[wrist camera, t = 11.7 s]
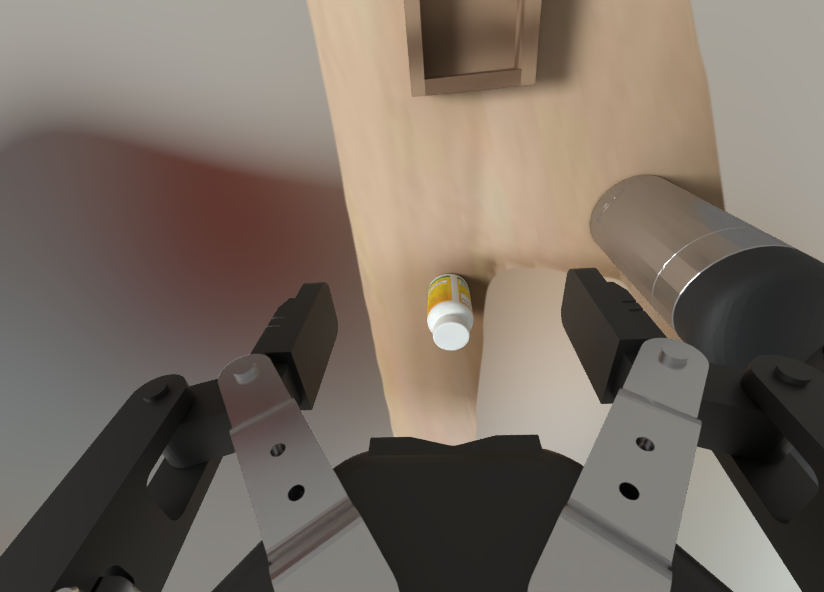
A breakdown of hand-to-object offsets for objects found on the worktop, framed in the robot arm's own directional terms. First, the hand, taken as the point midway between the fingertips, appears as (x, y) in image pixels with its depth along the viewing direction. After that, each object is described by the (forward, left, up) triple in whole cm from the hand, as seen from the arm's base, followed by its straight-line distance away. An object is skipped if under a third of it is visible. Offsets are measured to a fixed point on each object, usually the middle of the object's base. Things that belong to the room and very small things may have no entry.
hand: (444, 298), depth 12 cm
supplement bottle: (-10, +16, -30) cm, 36 cm away
